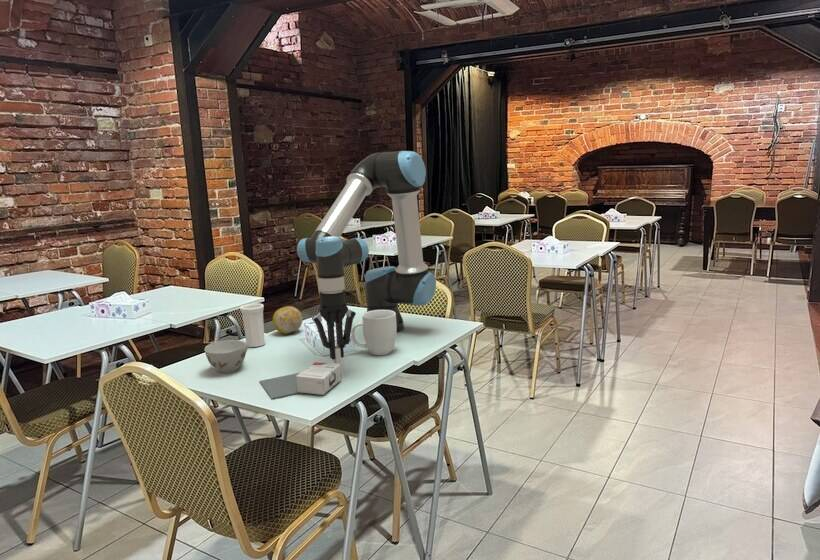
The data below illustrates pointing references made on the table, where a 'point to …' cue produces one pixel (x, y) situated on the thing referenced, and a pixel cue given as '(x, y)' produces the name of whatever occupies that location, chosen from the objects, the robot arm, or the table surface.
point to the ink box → (318, 378)
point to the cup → (253, 324)
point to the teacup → (226, 354)
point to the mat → (281, 386)
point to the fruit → (287, 319)
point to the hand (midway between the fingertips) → (337, 368)
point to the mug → (378, 331)
